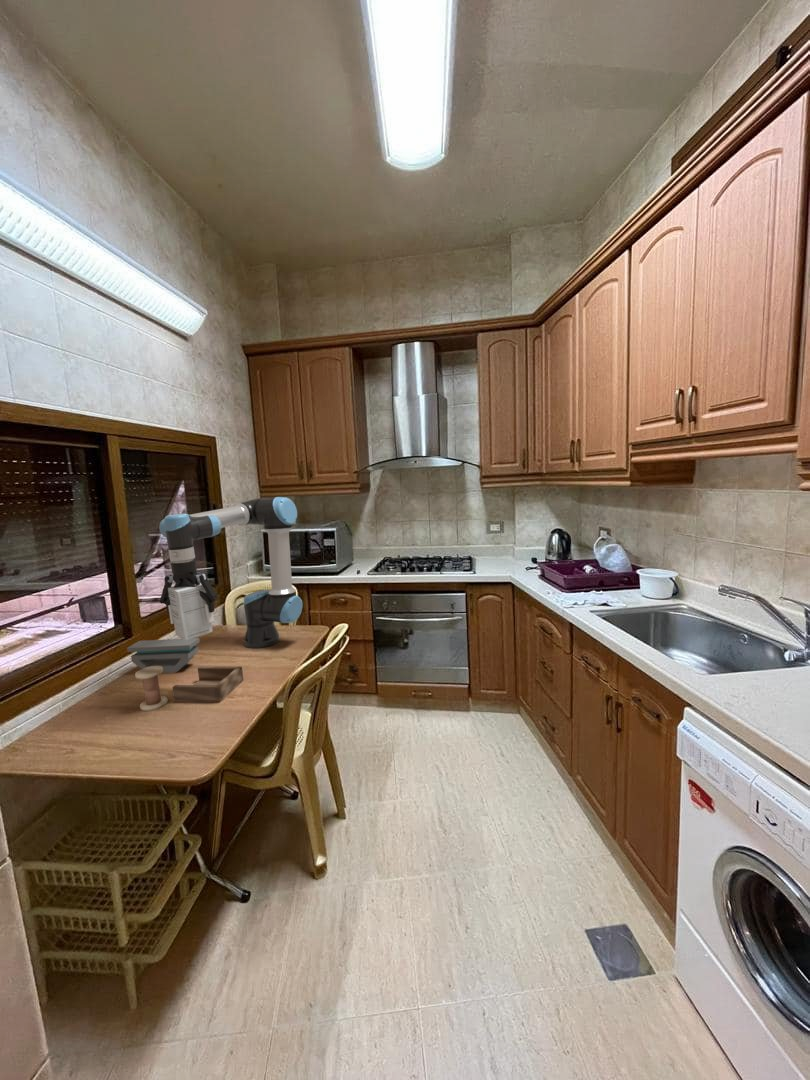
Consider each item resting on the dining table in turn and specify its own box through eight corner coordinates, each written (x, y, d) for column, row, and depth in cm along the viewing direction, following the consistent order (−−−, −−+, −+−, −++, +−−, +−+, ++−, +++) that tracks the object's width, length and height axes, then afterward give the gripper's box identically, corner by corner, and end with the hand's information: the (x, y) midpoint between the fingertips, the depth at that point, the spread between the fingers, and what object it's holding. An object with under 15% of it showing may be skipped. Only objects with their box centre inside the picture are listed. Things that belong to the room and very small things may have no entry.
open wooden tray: (201, 680, 167) (200, 666, 166) (243, 680, 164) (241, 666, 164) (174, 701, 151) (172, 687, 150) (220, 702, 149) (218, 687, 148)
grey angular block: (202, 663, 183) (199, 637, 181) (193, 671, 175) (189, 645, 174) (143, 666, 184) (139, 640, 182) (131, 674, 176) (126, 648, 175)
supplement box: (203, 626, 160) (196, 580, 157) (213, 632, 153) (206, 584, 151) (174, 635, 153) (166, 587, 150) (184, 641, 147) (176, 591, 144)
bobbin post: (151, 698, 154) (146, 665, 153) (172, 698, 153) (168, 665, 152) (134, 710, 147) (129, 676, 145) (157, 711, 146) (151, 676, 144)
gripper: (141, 564, 147) (151, 626, 151) (211, 561, 144) (220, 625, 147) (156, 559, 155) (166, 619, 158) (223, 556, 151) (232, 617, 155)
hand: (192, 622), depth 153 cm, fingers closed on supplement box, 12 cm apart
